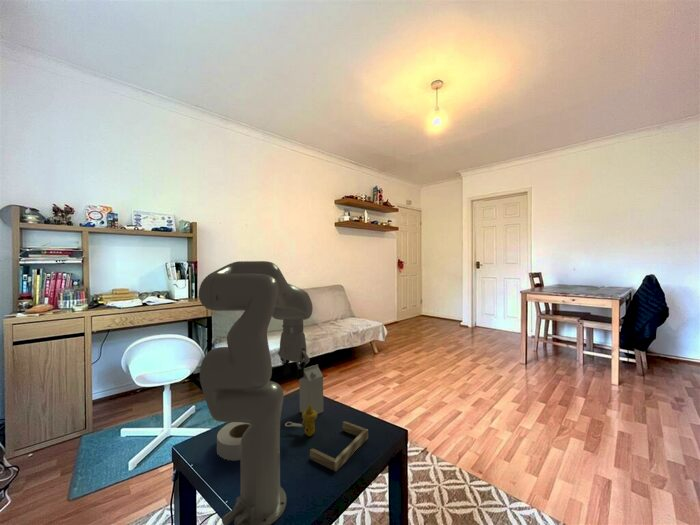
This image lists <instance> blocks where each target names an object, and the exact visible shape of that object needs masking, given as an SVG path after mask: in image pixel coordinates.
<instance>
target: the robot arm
mask: <svg viewBox="0 0 700 525" xmlns="http://www.w3.org/2000/svg"><path fill="white" fill-rule="evenodd" d="M198 299H199V301H200V303H201V305H202V306H203V307H204V308H206V310H209V311H217V312H221V311H228V312H231V311H239V312H241V311H242V312H243V313H242V315H241V316H240V317H239V318H238V319H237V320H236V321H235V322H234V323H233V324H232V326H231V328H230V330H228V333H227V335H226V345H227V346H219V347H218V346H217V347H215V348H212V349H210V350H209V351H208V352H207V353H206V354H205V355H204V357H203V358H202V362H201V364H200V369H199V381H200V386H201V390H202V393H203V395H204V399H205V402H206V406H207V408H208V412H209V414H210V416H211V417H212V419H213V420H215V421H216V422H221V423H222V422H223V423H231V422H242V423H249V424H251V425H250V426H249V427H248V428H247V429H246V431H245V432H244V434H243V436H242V438H241V443H240V460H239V462H240V464H239V465H240V469H239V470H240V495H238V496H237V497H236V503H235V505H234V506H233V509H231V510H230V511H228V512H227V513H226V514H225V515H224V516H222V518H221V522H222V525H229V524H230V523H231V522H232V521H233V524H234V525H272V524H273V523H275V522H276V521H277V520H278V519H279V518H281V516H282V515H283V513H284V511H285V509H286V505H287V493H286V492H285V490H284V488H283V487H282V486H281V441H280V440H281V431H280V430H281V418H282V412H283V411H282V409H283V402H284V390H283V387H282V386H281V385H280V384H279V383H278V382H275V381H272V380H271V378H272V375H273V365H272V358H271V353H270V346H269V341H268V340H269V339H268V328H269V325H270V322H271V319H272V318H273V319H275V320H278V321H279V320H281V321H282V331H281V334H280V339H279V340H280V341H279V351H278V352H277V355H278V356H279V359H280V360H281V364H282V366H283V376H285V377H286V376H288V375H290V374H291V373H292V372H291V371H292V370H291V369H292V368H291V366H292V365H291V362H292V363H293V362H294V363H296V365H297V368H296V380H299V379H301V378H303V377H304V368H306V365H307V364H309V362H310V360H311V358H310V357H309V355H308V353H307V341H306V336H305V332H304V320H308V319H310V318H311V316H312V314H313V303H312V299H311V297H310V295H309V293H308V292H307V291H305V290H304V289H302V288H300V287H297V286H296V285H293V284H291V283H288V282H287V280H286V278H285V277H284V274H283V272H282V271H281V270H280V268H279V267H278V265H277V264H276V263H274V262H271V261H267V260H265V261H264V260H256V261H255V260H251V261H250V260H249V261H248V260H247V261H246V260H245V261H243V260H242V261H235V262H231V263H228V264H226V265H225V266H222V267H221V268H219V269H216V270H215V271H213V272H211V273H209V274H208V275H207V276H205V277H204V278H203V279H202V282H201V284H200V285H199V289H198Z"/></svg>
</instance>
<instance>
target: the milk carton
mask: <svg viewBox="0 0 700 525" xmlns="http://www.w3.org/2000/svg"><path fill="white" fill-rule="evenodd" d="M308 406H311V407H312V409H313V410H315V411H316V412H317V415H319V414H321V413H323V412H324V376H323V373H322V371H321V369H320V367H319V364H315V365H311V366H307V367H304V377H303V378H301V379H299V412H300V413H301V414H303V412H304V411H305V410H307V407H308Z"/></svg>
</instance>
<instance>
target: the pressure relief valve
mask: <svg viewBox="0 0 700 525" xmlns="http://www.w3.org/2000/svg"><path fill="white" fill-rule="evenodd" d="M317 418H318V414H317V412H316V411H315V410H313V409H312V407H311V406H308V407H307V410H305V411H304V412H303V413H301V419H303V420H302V421H301V423H296V422H293V421H287V422H285V423H284V426H285V427H287V428H290V427H296V428H304V433H305V435H306V436H307V437H311V436H313V434H314V433H315V431H316V428H315V420H316V419H317Z"/></svg>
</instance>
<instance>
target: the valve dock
mask: <svg viewBox="0 0 700 525" xmlns="http://www.w3.org/2000/svg"><path fill="white" fill-rule="evenodd" d="M342 431H343V432H346V433H348V434H351V435H353V436H356V437H355V438H354V439H353V440H352V441H351V442H350V443H349V444H348V446H346V448H344V449H343V450H342V451H341V452H340V453H339V454H338V455H337V456H336V458H335V457H333V456H330V455H329V454H326V453H324V452H322V451H320V450H319V449H318V450H317V449H315V448H311V449H310V450H309V459H310V460H311V461H312V462H315V463H317V464H320V465H322V466H323V467H326V468H328V470H331V471H333V472H335V473H336V472H338V470H340V468H342V466H343V465H345V463H346V462H347V461H348V460H350V459H351V457H352V456H354V454H355V453H356V452H357V451H358V450H359V449H360V448H361V446H363V444H364V443H365V442H366V441H367V440H368V439H369V429H367V428H365V427H362V426H359V425H357V424H354V423H351V422H349V421H346V420H344V421H342ZM359 447H360V448H359ZM358 448H359V449H358ZM357 449H358V450H357ZM356 450H357V451H356ZM355 451H356V452H355ZM354 452H355V453H354Z"/></svg>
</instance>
